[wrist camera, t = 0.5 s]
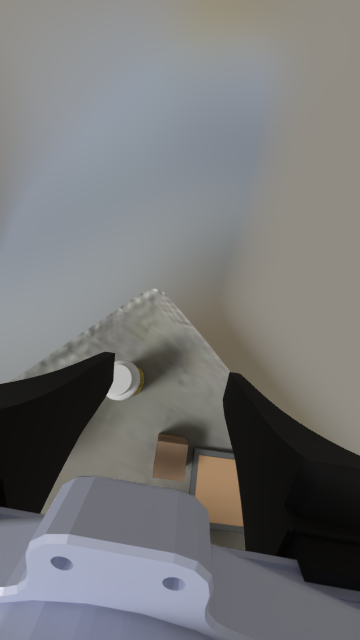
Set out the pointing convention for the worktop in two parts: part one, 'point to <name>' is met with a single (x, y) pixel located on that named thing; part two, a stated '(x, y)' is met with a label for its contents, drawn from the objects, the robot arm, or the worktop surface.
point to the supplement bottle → (125, 380)
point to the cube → (170, 457)
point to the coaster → (217, 488)
